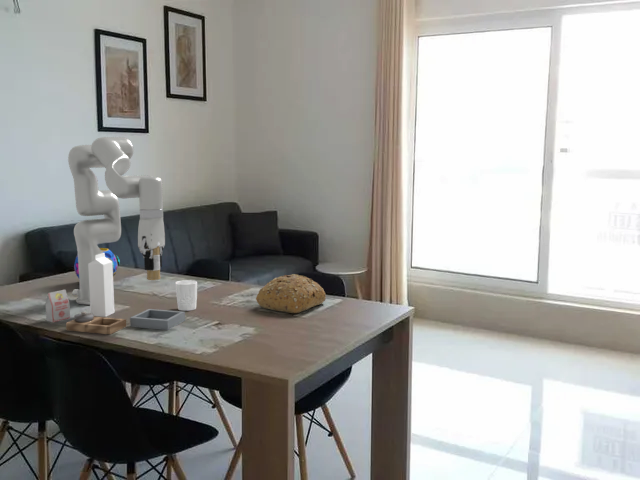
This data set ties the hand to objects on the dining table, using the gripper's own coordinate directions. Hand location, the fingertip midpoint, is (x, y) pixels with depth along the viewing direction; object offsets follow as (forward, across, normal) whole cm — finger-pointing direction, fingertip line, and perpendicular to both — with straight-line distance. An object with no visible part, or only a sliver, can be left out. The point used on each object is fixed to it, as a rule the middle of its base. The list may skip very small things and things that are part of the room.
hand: (153, 267), depth 220 cm
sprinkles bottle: (+4, 0, 0) cm, 4 cm away
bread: (+20, -37, +36) cm, 56 cm away
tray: (+19, -1, +1) cm, 19 cm away
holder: (+19, +11, -16) cm, 27 cm away
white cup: (+20, -22, 0) cm, 29 cm away
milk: (+20, -5, -24) cm, 32 cm away
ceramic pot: (+20, -48, -57) cm, 77 cm away
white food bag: (+20, +5, -35) cm, 41 cm away
